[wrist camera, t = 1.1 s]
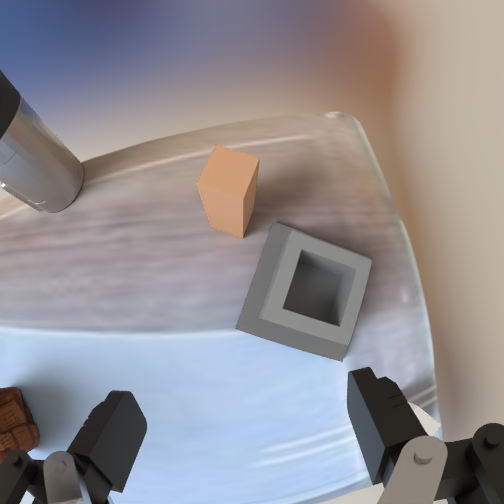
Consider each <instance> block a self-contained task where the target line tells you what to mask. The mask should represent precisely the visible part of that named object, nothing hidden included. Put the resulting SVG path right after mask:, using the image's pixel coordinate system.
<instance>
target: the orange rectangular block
mask: <svg viewBox="0 0 504 504" xmlns="http://www.w3.org/2000/svg"><path fill="white" fill-rule="evenodd" d="M259 161H260V158H259V157H256V156H253V155H249V154H246V153H243V152H239V151H236V150H233V149H229V148H226V147H222V146H218V145H215V146H214V148H213V150H212V152H211V154H210V156H209V158H208V160H207V162H206V164H205V166H204V168H203V171H202V173H201V175H200V177H199V179H198V181H197V183H196V184H197V187H198V190H199V193H200V196H201V199H202V202H203V205H204V208H205V211H206V214H207V217H208V220H209V223H210V226H211V228H213V229H216V230H219V231H222V232H225V233H228V234H231V235H233V236H236V237H239V238H242V239H243V237H244V234H245V231H246V229H247V226H248V223H249V221H250V218H251V215H252V213H253V210H254V204H255V195H256V186H257V178H258V169H259Z"/></svg>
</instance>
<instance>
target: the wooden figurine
mask: <svg viewBox="0 0 504 504" xmlns="http://www.w3.org/2000/svg"><path fill="white" fill-rule="evenodd" d="M38 441H39V431H38V428H37V426H36V425H35V424H34V423H33V420H32V415H31V414H30V411H29V408H28V406H27V405H26V404H24V403H23V402H22V397H21V392H20V390H19V389H17V388H15V387H7V388H0V465H1V463H2V462H3V460H4V459H5V457H6V456H7V455H8V454H9V453H10V452H11V451H13V450H16V449H22V450H24V451H26V452H29V451H31V450H32V449H34V448H35V447H36V446H37V445H38Z"/></svg>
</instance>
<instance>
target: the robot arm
mask: <svg viewBox="0 0 504 504" xmlns="http://www.w3.org/2000/svg"><path fill="white" fill-rule="evenodd" d="M83 179H84V169H83V166H82V164H81V163H80V161H79V160H78V159H77V158H76V157H75V156H74V155H73V154H72V153H71V152H70V151H69V150H68V148H67V147H66V146H65V145H64V144H63V143H62V142H61V141H60V140H59V138H58V137H57V136H56V135H55V134H54V133H53V132H52V131H51V130H50V128H49V127H48V126H47V125H46V124H45V123H44V122H43V120H42V119H41V118H40V117H39V116H38V115H37V114H36V112H35V111H34V110H33V109H32V108H31V107H30V106H29V104H28V103H27V102H26V101H25V100H24V98H23V97H22V96H21V95H20V94H19V92H18V91H17V90H16V89H15V87H14V86H13V85H12V84H11V83H10V81H9V80H8V79H7V78H6V77H5V75H4V74H3V73H2V71H1V70H0V181H1V182H2V184H1V185H2V188H3V189H4V190H6V191H7V192H9V193H10V194H12V195H13V196H15V197H16V198H18V199H20V200H21V201H23V202H24V203H26V204H28V205H29V206H31V207H33V208H34V209H36V210H38V211H41V210H45V211H47V212H50V213H55V212H59V211H61V210H63V209H64V208H66V207H67V206H68V205H69V204H71V203H72V201H73V200H74V199H75V198H76V196H77V194H78V193H79V191H80V189H81V186H82V183H83ZM347 409H348V414H349V417H350V420H351V423H352V426H353V429H354V431H355V434H356V437H357V440H358V443H359V446H360V448H361V451H362V454H363V457H364V460H365V463H366V466H367V469H368V472H369V475H370V478H371V481H372V484H373V485H375V484H379V483H383V485H384V488H385V490H384V491H383V493H382V496H381V497H380V499H379V501H378V503H377V504H432V503H433V501H436V500H441V499H447V501H448V504H504V426H503V425H501V424H497V423H489V424H486V425H484V426H482V427H480V428H479V429H478V430H477V431H476V433H475V434H474V436H473V438H470V439H465V440H460V441H455V442H443V441H442V440H440V439H439V438H436V437H434V436H429V435H428V434H427V432H426V431H425V429H424V428H423V426H422V424H421V423H420V421H419V419H418V418H417V416H416V414H415V413H414V411H413V409H412V408H411V406H410V405H409V403H408V402H407V400H406V398H405V397H404V395H403V393H402V392H401V390H400V389H399V387H398V385H397V384H396V383H395V382H393V381H392V380H390V379H389V378H387V377H386V376H385V377H382V378H378V379H377V378H376V376H375V374H374V373H373V371H372V369H371V368H370V367H366V368H362V369H358V370H353V371H349V372H348V388H347ZM83 425H84V426H82V427H81V429H80V430H79V432H78V434H77V435H76V437H75V438H74V440H73V442H72V443H71V445H70V446H69V448H68V450H67V451H66V452H65V451H58V452H54V453H52V454H51V455H49V456H48V457H47V458H46V460H33V459H32V458H31V457H30V456H29V455H28V454H27V452H26V451H24V450H22V449H16V450H13V451H11V452H10V453H9V454H8V455H7V456H6V457H5V459H4V460H3V462H2V463H1V465H0V504H19V503H20V502H21V499H22V498H23V496H24V494H25V492H26V490H27V491H28V492H29V493H30V494H31V495H33V496H34V497H35V498H34V501H33V503H32V504H114V503H113V500H112V498H111V497H110V496H109V493H110V491H111V490H112V491H116V492H121V493H122V492H123V489H124V487H125V484H126V482H127V479H128V477H129V474H130V471H131V469H132V466H133V464H134V461H135V459H136V456H137V454H138V451H139V449H140V446H141V444H142V441H143V439H144V437H145V434H146V431H147V422H146V419H145V417H144V415H143V413H142V411H141V409H140V407H139V405H138V403H137V402H136V400H135V398H134V396H133V394H132V393H131V392H129V391H115V390H113V391H111V392H110V393H109V394H108V396H107V398H106V399H105V401H104V402H103V401H102V402H101V403H100V404H99V405H98V406H96V407H95V408H94V409H93V410H92V412H91V413H90V415H89V416H88V419H87V420H86V421H85V423H84V424H83Z"/></svg>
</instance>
